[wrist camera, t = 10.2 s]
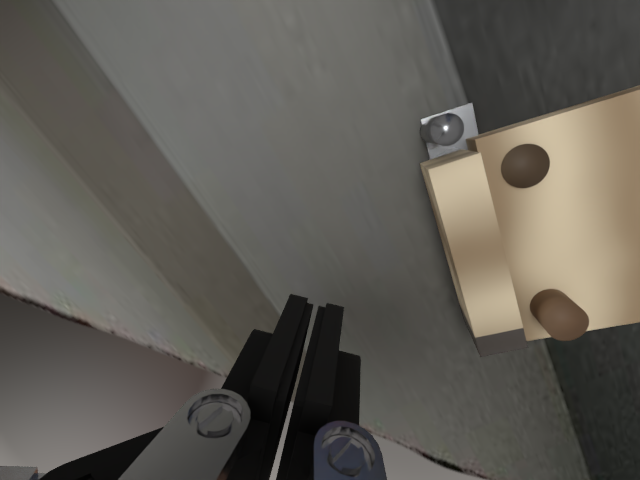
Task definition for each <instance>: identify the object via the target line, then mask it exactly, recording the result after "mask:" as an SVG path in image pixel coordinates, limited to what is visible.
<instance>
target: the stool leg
mask: <svg viewBox="0 0 640 480" xmlns="http://www.w3.org/2000/svg"><path fill="white" fill-rule="evenodd" d="M420 166H421V170H422V173H423V177H424V180H425V184H426V187H427V191H428V194H429V198H430V201H431V205H432V208H433V212H434V215H435V219H436V223H437V226H438V230H439V233H440V237H441V240H442V244H443V247H444V251H445V254H446V258H447V261H448V265H449V268H450V272H451V275H452V279H453V282H454V286H455V289H456V293H457V297H458V300H459V304H460V307H461V311H462V314H463V318H464V321H465V323H466V325H467V328H468V330H469V332H470V334H471V337H472V339H473V341H474V343H475V346H476V348H477V350H478V352H479V355H480V357H482V356H488V355H493V354H498V353H503V352H508V351H514V350H519V349H524V348H528V345H527V341H526V337H525V333H524V329H523V324H522V320H521V316H520V312H519V308H518V304H517V300H516V296H515V292H514V288H513V283H512V279H511V275H510V271H509V267H508V263H507V259H506V255H505V251H504V247H503V242H502V238H501V234H500V230H499V226H498V222H497V218H496V214H495V210H494V206H493V201H492V197H491V193H490V189H489V185H488V181H487V177H486V173H485V169H484V164H483V160H482V156H481V153H480V152H474V151H469V150H464V149H461V150H458V151H455V152H452V153H449V154H446V155H443V156H440V157H437V158H434V159H431V160H428V161H425V162H422V163H420Z"/></svg>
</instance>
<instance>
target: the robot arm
mask: <svg viewBox="0 0 640 480" xmlns="http://www.w3.org/2000/svg"><path fill="white" fill-rule="evenodd" d="M307 300H308V298H305V297H301V296H297V295H293V294H290V296H289V299H288V301H287V303H286V305H285V308H284V310H283V312H282V315H281V317H280V319H279V321H278V324H277V326H276V328H275V331H274V333H273V334H272V333H268V332H264V331H260V330H256V329H254V330H253V331H252V333H251V334H250V336H249V338H248V340H247V342H246V344H245V346H244V347H243V349H242V351H241V353H240V355H239V357H238V358H237V360H236V362H235V364H234V366H233V368H232V369H231V371H230V373H229V375H228V377H227V379H226V381H225V383H224V384H223V386H222V388H221V389H210V390H205V391H202V392H200V393H198V394H196V395H194V396H193V397H191V398H190V399H189V400H188V401H187V402H186V403H185V404H184V405H183V406H182V407H181V408H180V410H179V411H178V412H177V413H176V414H175V415H174V416H173V418H172V419H171V420H170V421H169V422H168V423H167V424H166V425H165V427H162V428H160V429H157V430H154V431H152V432H149V433H146V434H143V435H141V436H138V437H136V438H133V439H130V440H127V441H125V442H122V443H120V444H117V445H114V446H111V447H109V448H106V449H103V450H101V451H98V452H95V453H93V454H90V455H87V456H84V457H82V458H79V459H76V460H74V461H71V462H68V463H66V464H63V465H61V466H59V467H57V468H55V469H53V470H51V471H50V472H48V473H47V474H44V473H38V469H37V467H19V466H0V480H269V478H270V475H271V471H272V467H273V463H274V460H275V456H276V452H277V449H278V445H279V441H280V438H281V434H282V430H283V427H284V423H285V419H286V416H287V411H288V408H289V404H290V401H291V397H292V394H293V390H294V386H295V382H296V378H297V374H298V370H299V365H300V361H301V357H302V352H303V348H304V344H305V339H306V335H307V330H308V326H309V322H310V317H311V313H312V309H313V304H309V303H307ZM343 311H344V307H341V306H337V305H333V304H329V303H327V304H326V308H325V307H321V306H319V307H318V311H317V315H316V319H315V323H314V326H313V330H312V334H311V338H310V342H309V346H308V350H307V354H306V357H305V361H304V365H303V369H302V373H301V377H300V381H299V385H298V388H297V392H296V396H295V401H294V405H293V409H292V413H291V418H290V422H289V426H288V431H287V435H286V439H285V443H284V448H283V452H282V456H281V461H280V466H279V469H278V473H277V478H276V480H387V477H386V472H385V467H384V463H383V458H382V453H381V451H380V448H379V445H378V443H377V442H376V441H375V439H374V438H373V436H372V435H371V434H370V433H368V432H367V431H366V430H365V429H364V428H362V427H360V426H359V403H360V365H361V359H360V356H358V355H354V354H350V353H346V352H342V351H339V343H340V335H341V327H342V319H343Z"/></svg>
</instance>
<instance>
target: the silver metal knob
mask: <svg viewBox="0 0 640 480" xmlns="http://www.w3.org/2000/svg"><path fill="white" fill-rule="evenodd" d="M421 124H422V125H421V128H420V135H421V138H422V139H423V140H424V141H425V142H426V145H427V149H428V153H429V158H430V160H431V159H434V158H437V157H440V156H443V155H446V154H449V153H452V152H455V151H458V150H461V149H464V150H468V147H467V143H466V139H468V138H471V137H474V136H477V135H478V130H477V125H476V120H475V115H474V110H473V105H472V103H470V104H467V105H463V106H460V107H457V108H454V109H451V110H448V111H445V112H442V113H439V114H436V115H433V116H430V117H427V118H424V119H421Z"/></svg>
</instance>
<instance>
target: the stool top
mask: <svg viewBox="0 0 640 480" xmlns="http://www.w3.org/2000/svg"><path fill="white" fill-rule="evenodd" d="M466 143H467V147H468V150H469V151H474V152H480V153H481V156H482V160H483V164H484V169H485V173H486V177H487V181H488V185H489V189H490V193H491V197H492V201H493V206H494V210H495V214H496V218H497V222H498V226H499V230H500V234H501V238H502V242H503V247H504V251H505V255H506V259H507V263H508V267H509V271H510V275H511V279H512V283H513V288H514V292H515V296H516V300H517V304H518V308H519V312H520V316H521V320H522V324H523V329H524V333H525V337H526V341H530V340H536V339H542V338H548V337H553V338H555V339H557V340H561V341H569V340H574V339H576V338H578V337H580V336H581V335H583V334H584V333H585V332H586V331H589V330H595V329H601V328H607V327H613V326H619V325H625V324H631V323H637V322H640V85H639V86H636V87H633V88H630V89H626V90H623V91H620V92H616V93H613V94H610V95H607V96H603V97H600V98H597V99H594V100H590V101H587V102H584V103H581V104H577V105H574V106H571V107H568V108H564V109H561V110H558V111H555V112H551V113H548V114H545V115H542V116H538V117H535V118H532V119H528V120H525V121H522V122H519V123H515V124H512V125H509V126H506V127H502V128H499V129H496V130H493V131H489V132H486V133H483V134H480V135H477V136H474V137H471V138H468V139H466Z"/></svg>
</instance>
